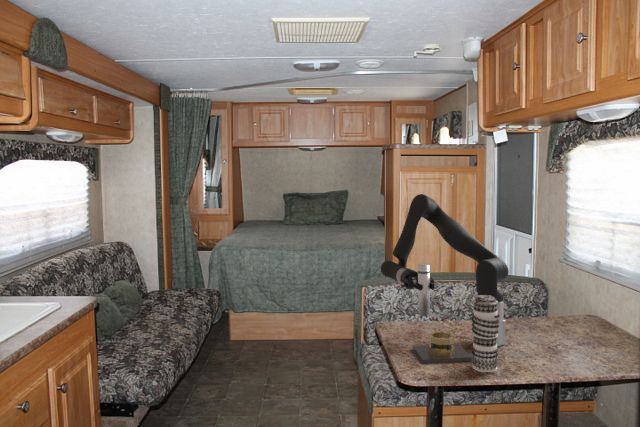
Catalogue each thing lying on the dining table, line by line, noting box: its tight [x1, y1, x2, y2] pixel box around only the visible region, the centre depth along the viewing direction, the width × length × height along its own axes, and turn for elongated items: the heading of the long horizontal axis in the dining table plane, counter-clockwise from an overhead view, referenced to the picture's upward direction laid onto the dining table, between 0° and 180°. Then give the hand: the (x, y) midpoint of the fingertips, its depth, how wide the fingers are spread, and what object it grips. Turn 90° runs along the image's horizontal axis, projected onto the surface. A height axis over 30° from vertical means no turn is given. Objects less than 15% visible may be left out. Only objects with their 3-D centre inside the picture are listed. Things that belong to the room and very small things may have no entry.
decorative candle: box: [470, 295, 500, 373], centre depth 173 cm, size 9×9×25 cm
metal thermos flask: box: [417, 263, 431, 316], centre depth 194 cm, size 4×4×19 cm
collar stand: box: [411, 331, 473, 365], centre depth 186 cm, size 18×14×8 cm
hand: (427, 287), depth 191 cm, fingers closed on metal thermos flask, 4 cm apart
